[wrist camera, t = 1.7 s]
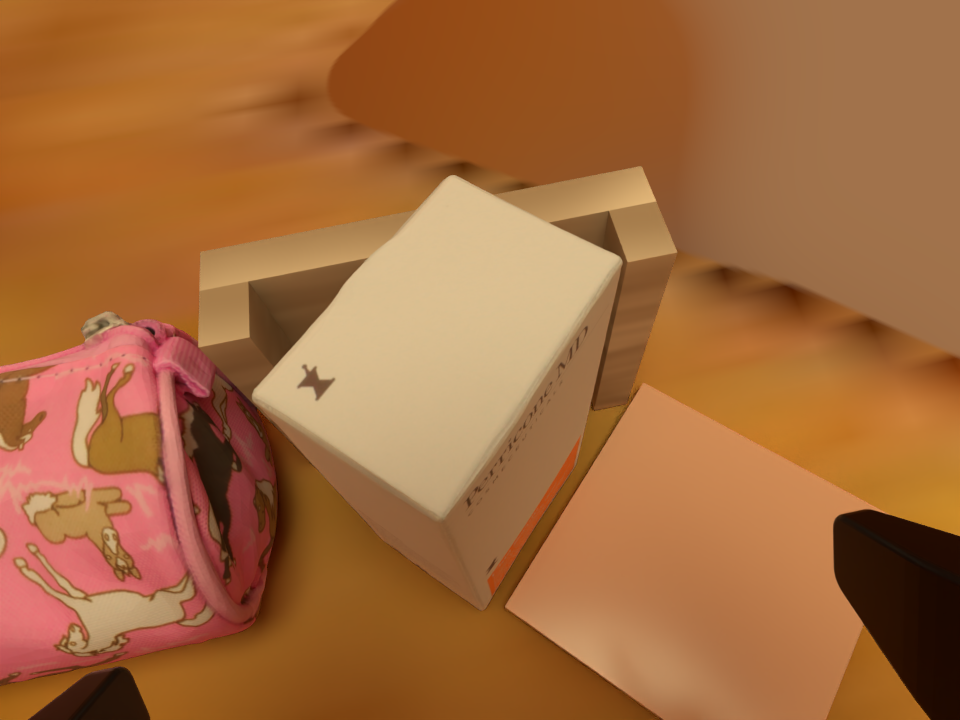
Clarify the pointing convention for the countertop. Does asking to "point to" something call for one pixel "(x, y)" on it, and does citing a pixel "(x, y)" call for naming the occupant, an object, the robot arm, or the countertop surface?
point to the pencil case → (127, 501)
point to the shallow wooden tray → (344, 248)
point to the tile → (697, 573)
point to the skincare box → (453, 381)
